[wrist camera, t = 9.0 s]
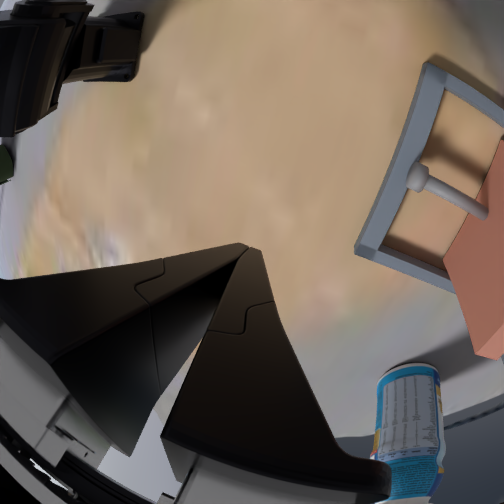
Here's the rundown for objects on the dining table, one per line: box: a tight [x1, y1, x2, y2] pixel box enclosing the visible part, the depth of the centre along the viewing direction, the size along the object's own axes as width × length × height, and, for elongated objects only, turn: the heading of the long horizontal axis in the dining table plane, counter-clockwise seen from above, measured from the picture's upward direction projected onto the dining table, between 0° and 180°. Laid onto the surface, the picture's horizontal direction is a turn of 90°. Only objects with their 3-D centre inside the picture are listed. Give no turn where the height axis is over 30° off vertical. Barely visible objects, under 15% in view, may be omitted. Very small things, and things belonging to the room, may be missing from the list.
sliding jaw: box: [406, 140, 504, 360], centre depth 12 cm, size 9×11×10 cm
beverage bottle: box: [370, 363, 446, 504], centre depth 20 cm, size 8×8×20 cm
